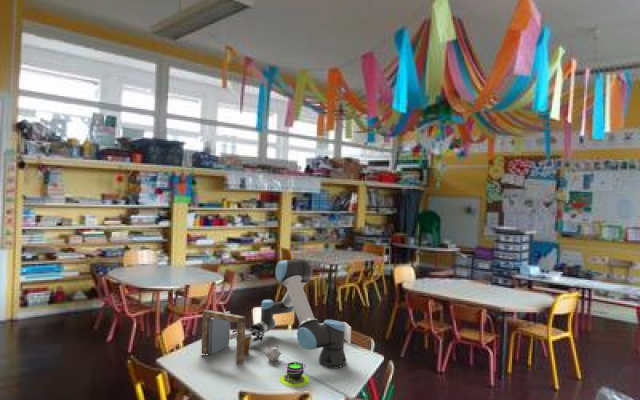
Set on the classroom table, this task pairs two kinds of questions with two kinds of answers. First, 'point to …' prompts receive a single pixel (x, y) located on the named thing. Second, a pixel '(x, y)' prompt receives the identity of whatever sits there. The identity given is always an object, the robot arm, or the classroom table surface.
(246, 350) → the disposable coffee cup
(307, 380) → the toy cauldron
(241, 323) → the door frame
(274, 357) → the game die
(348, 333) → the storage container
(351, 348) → the classroom table surface
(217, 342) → the door
